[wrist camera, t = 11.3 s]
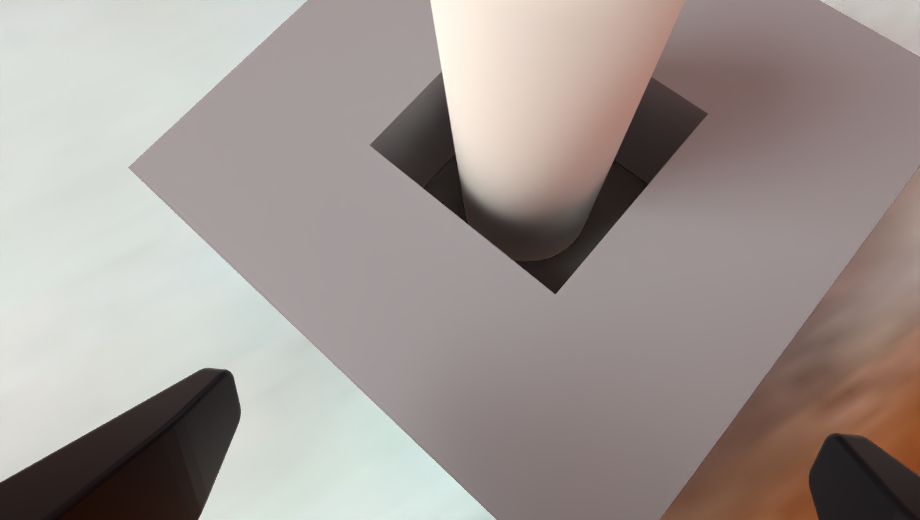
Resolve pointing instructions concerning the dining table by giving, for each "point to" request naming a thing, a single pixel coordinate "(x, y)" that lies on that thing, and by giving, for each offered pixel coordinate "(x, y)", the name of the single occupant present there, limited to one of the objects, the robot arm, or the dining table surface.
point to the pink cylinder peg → (543, 107)
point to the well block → (599, 276)
